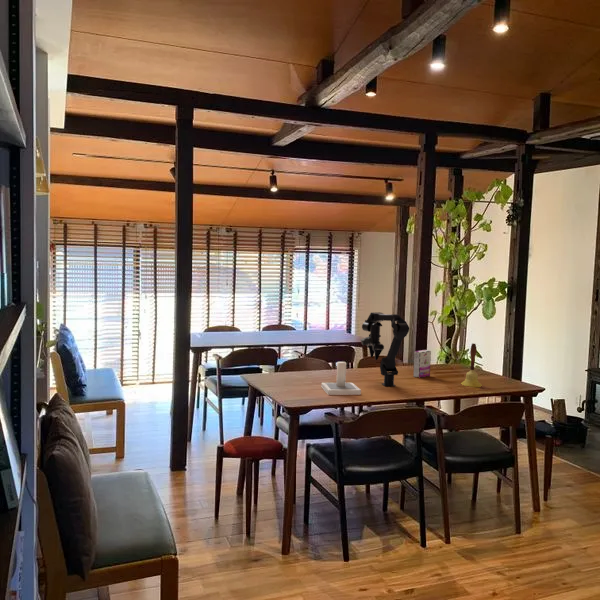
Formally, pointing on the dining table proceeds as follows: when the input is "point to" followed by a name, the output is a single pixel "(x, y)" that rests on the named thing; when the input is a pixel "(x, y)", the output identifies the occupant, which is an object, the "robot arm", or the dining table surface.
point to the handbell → (472, 371)
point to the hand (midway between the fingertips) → (373, 358)
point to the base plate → (341, 389)
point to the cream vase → (341, 374)
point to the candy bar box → (422, 363)
